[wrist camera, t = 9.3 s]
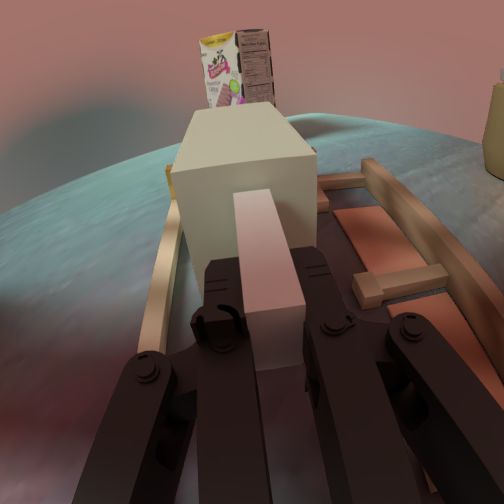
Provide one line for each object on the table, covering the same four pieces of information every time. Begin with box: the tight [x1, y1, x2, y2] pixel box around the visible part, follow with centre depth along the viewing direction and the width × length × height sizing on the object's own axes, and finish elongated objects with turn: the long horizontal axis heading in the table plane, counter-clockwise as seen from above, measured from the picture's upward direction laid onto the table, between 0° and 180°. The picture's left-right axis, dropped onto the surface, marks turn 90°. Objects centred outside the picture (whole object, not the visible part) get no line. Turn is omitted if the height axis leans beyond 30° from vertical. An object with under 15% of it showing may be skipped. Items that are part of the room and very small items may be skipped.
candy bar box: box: [199, 29, 276, 108], centre depth 38 cm, size 11×5×16 cm, turn 32°
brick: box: [170, 102, 317, 302], centre depth 21 cm, size 14×6×9 cm, turn 5°
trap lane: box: [137, 147, 504, 494], centre depth 17 cm, size 28×20×4 cm
